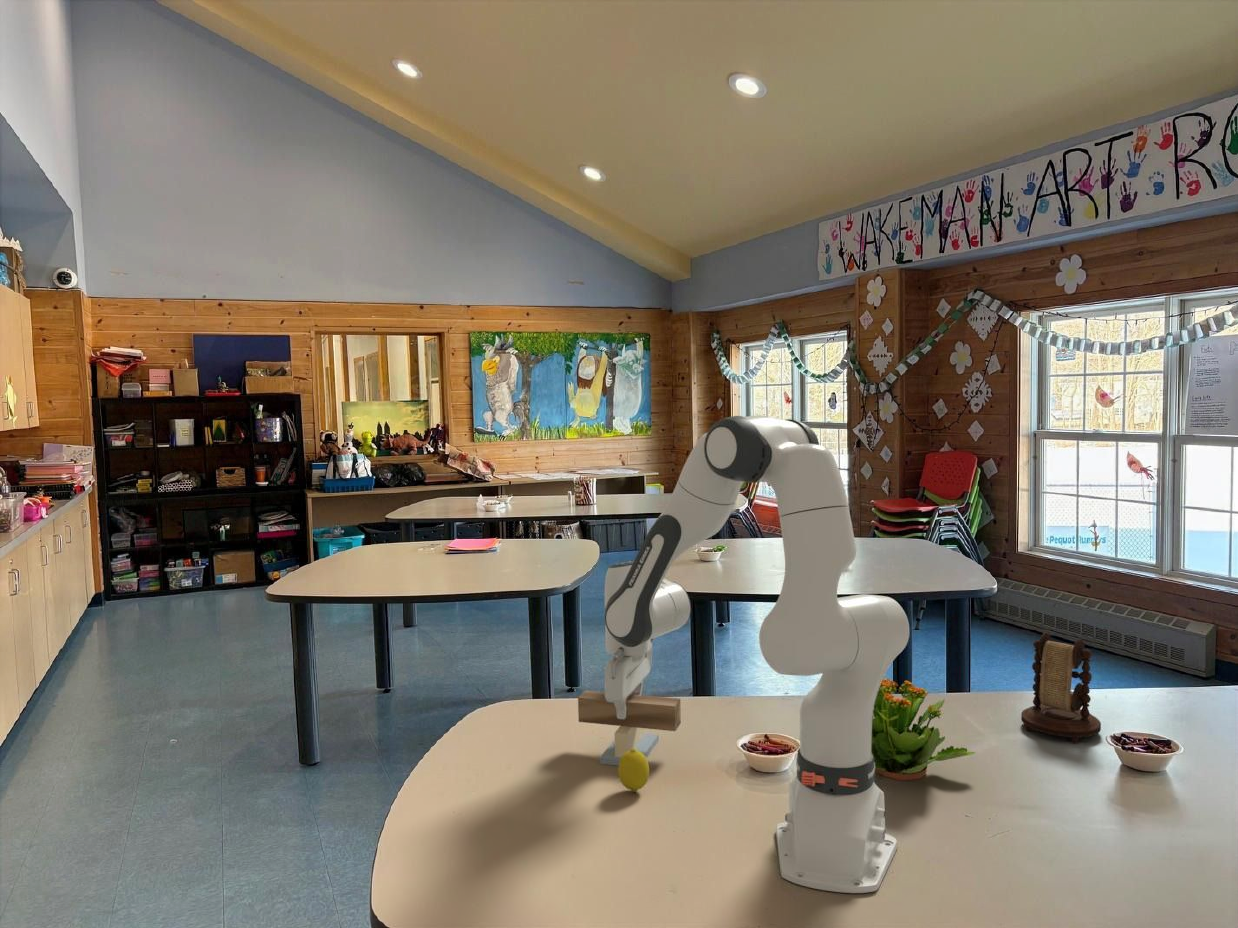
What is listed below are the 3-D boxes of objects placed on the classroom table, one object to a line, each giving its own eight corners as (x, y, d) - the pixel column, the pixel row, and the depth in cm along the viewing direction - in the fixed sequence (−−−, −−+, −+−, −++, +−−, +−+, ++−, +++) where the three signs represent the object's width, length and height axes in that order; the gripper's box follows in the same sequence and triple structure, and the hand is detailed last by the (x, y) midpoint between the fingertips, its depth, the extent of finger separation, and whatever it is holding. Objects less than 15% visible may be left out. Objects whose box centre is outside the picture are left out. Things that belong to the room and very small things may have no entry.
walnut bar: (675, 731, 174) (674, 706, 174) (578, 721, 180) (577, 697, 180) (680, 722, 179) (680, 698, 178) (586, 714, 185) (585, 690, 184)
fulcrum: (639, 767, 172) (638, 737, 172) (600, 763, 175) (599, 733, 174) (658, 740, 185) (658, 711, 185) (621, 736, 188) (621, 708, 187)
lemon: (613, 795, 161) (612, 751, 160) (627, 782, 166) (626, 740, 165) (641, 801, 158) (640, 757, 158) (654, 788, 163) (653, 745, 162)
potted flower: (977, 757, 173) (978, 669, 172) (969, 811, 152) (970, 710, 150) (846, 739, 184) (846, 655, 182) (821, 786, 162) (821, 692, 161)
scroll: (1008, 730, 186) (1010, 636, 185) (1039, 711, 196) (1040, 622, 195) (1083, 750, 176) (1086, 650, 174) (1111, 730, 185) (1114, 635, 184)
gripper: (627, 657, 167) (629, 729, 168) (656, 629, 187) (657, 693, 188) (595, 655, 169) (597, 726, 170) (627, 627, 189) (629, 691, 190)
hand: (629, 709), depth 179 cm, fingers open, 8 cm apart
